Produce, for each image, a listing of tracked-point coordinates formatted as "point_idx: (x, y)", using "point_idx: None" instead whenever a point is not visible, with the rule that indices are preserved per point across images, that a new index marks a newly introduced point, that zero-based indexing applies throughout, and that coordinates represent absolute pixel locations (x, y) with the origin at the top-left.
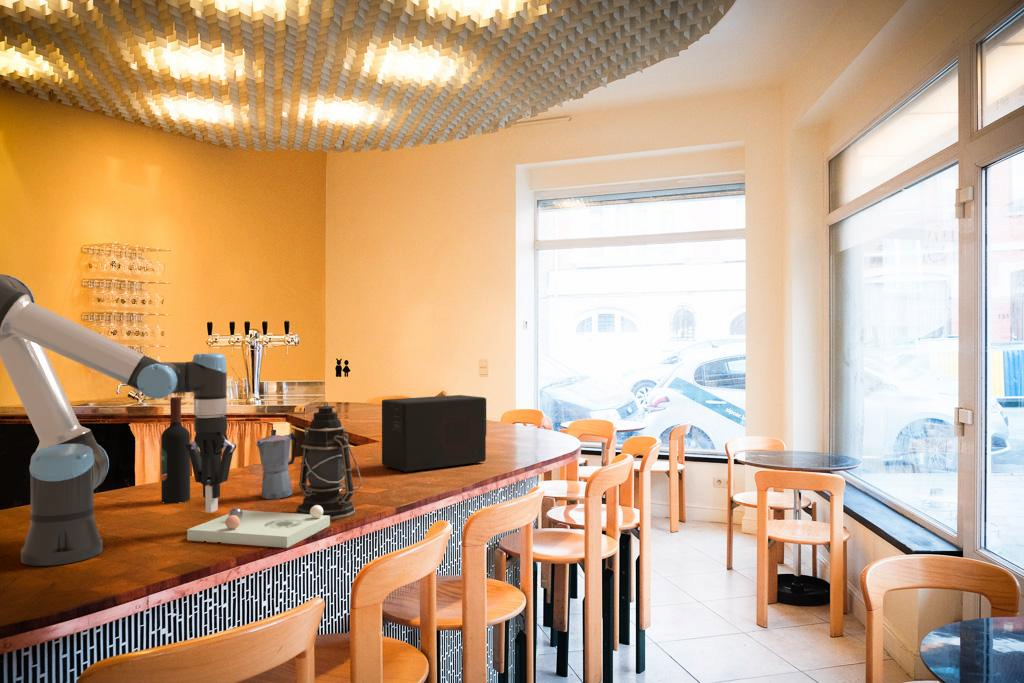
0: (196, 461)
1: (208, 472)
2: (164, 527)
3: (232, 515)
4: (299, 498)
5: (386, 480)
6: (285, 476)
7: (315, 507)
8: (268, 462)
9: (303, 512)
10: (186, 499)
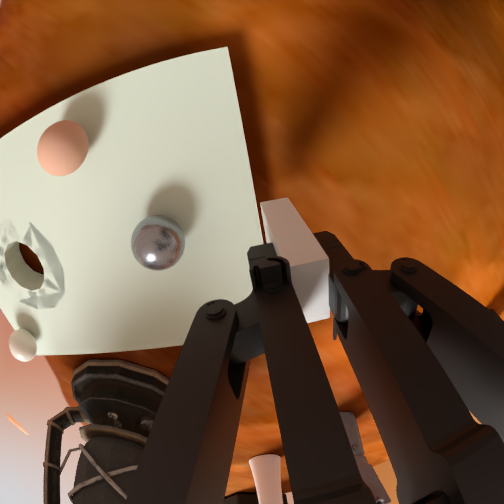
0: (496, 369)
1: (361, 350)
2: (417, 159)
3: (46, 151)
4: (278, 433)
5: (234, 483)
6: None
7: (11, 347)
8: None
9: (117, 373)
10: None
